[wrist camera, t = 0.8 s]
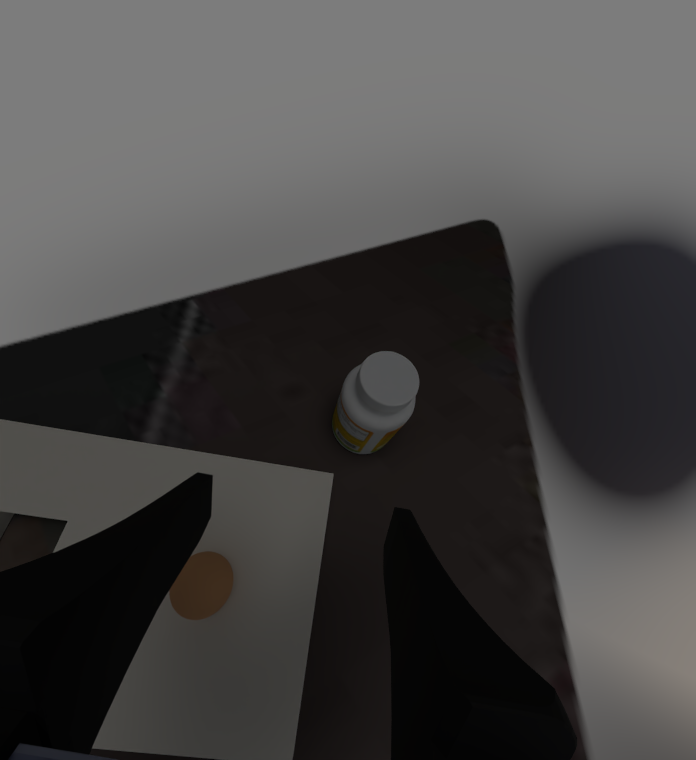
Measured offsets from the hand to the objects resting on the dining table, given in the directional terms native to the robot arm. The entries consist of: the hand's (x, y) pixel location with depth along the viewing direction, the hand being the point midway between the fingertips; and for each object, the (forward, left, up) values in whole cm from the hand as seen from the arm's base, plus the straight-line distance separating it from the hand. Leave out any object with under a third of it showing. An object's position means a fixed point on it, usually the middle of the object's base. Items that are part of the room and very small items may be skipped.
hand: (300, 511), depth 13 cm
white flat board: (-4, +11, -14) cm, 18 cm away
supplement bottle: (+9, -4, -14) cm, 18 cm away
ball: (-4, +5, -10) cm, 12 cm away
